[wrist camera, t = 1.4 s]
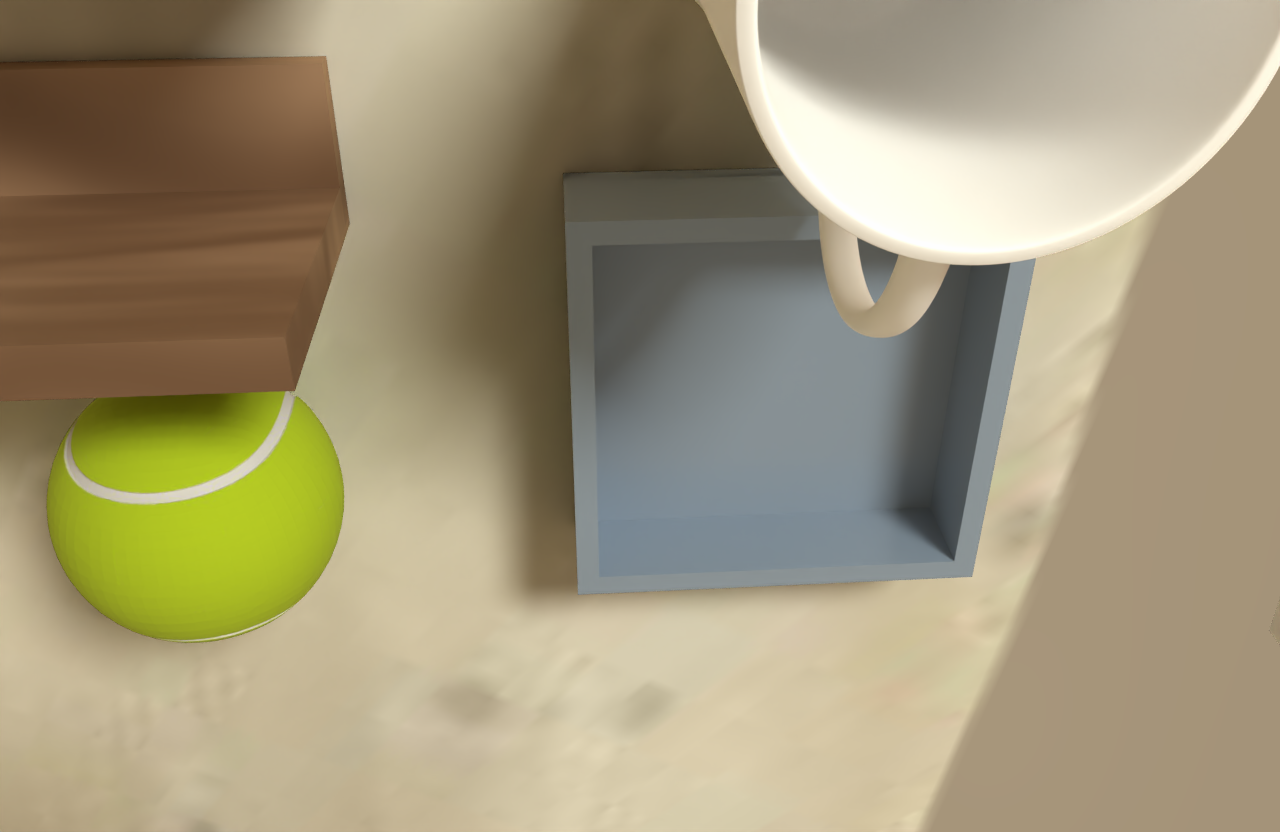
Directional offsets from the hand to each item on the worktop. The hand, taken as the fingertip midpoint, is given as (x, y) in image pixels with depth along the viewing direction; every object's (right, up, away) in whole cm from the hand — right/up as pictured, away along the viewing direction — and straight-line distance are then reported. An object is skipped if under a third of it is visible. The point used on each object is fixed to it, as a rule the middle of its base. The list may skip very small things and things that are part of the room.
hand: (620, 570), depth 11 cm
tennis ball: (-11, +1, +22) cm, 25 cm away
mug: (+4, +12, +16) cm, 21 cm away
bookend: (-11, +8, +18) cm, 22 cm away
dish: (+4, +3, +22) cm, 23 cm away
